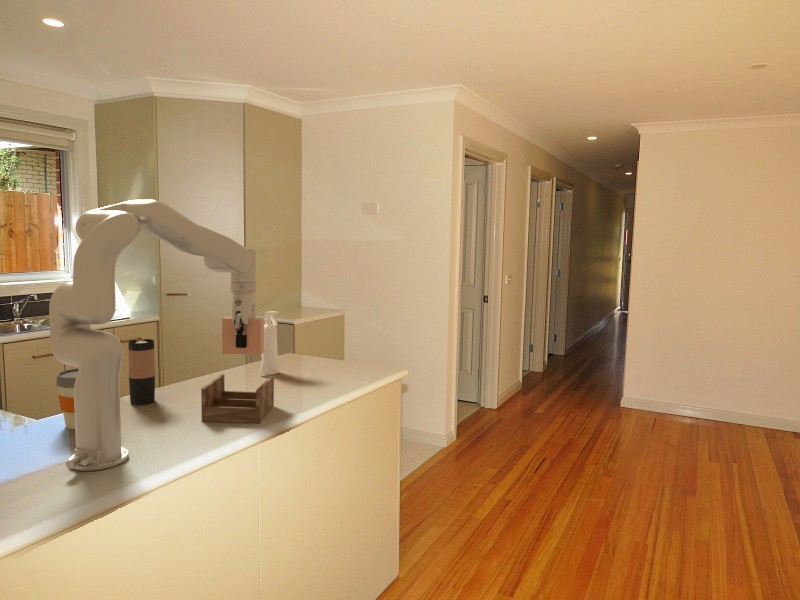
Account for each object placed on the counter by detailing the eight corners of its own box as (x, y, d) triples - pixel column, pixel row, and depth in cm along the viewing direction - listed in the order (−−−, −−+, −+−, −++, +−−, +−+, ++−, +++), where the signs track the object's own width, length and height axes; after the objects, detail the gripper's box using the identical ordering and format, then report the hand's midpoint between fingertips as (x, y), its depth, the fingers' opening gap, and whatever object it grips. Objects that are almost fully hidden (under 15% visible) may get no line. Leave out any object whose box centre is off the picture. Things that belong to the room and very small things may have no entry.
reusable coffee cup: (119, 420, 159) (117, 369, 158) (83, 434, 147) (81, 380, 146) (84, 414, 163) (83, 365, 161) (46, 428, 151) (44, 375, 149)
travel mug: (145, 406, 172) (144, 344, 170) (124, 404, 174) (122, 342, 172) (160, 399, 180) (159, 339, 178) (139, 397, 181) (138, 338, 179)
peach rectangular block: (260, 354, 169) (261, 319, 167) (222, 353, 169) (222, 318, 167) (264, 352, 172) (264, 317, 171) (226, 350, 173) (226, 316, 171)
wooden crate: (259, 423, 160) (259, 390, 159) (201, 421, 160) (201, 388, 159) (273, 406, 177) (273, 375, 176) (221, 404, 177) (221, 374, 176)
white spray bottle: (251, 375, 214) (251, 312, 211) (270, 369, 225) (270, 309, 222) (265, 377, 212) (266, 314, 209) (284, 371, 223) (284, 310, 220)
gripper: (247, 290, 160) (247, 352, 162) (262, 285, 177) (262, 341, 179) (222, 289, 160) (222, 351, 162) (239, 284, 177) (239, 340, 179)
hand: (243, 345), depth 170 cm, fingers closed on peach rectangular block, 4 cm apart
